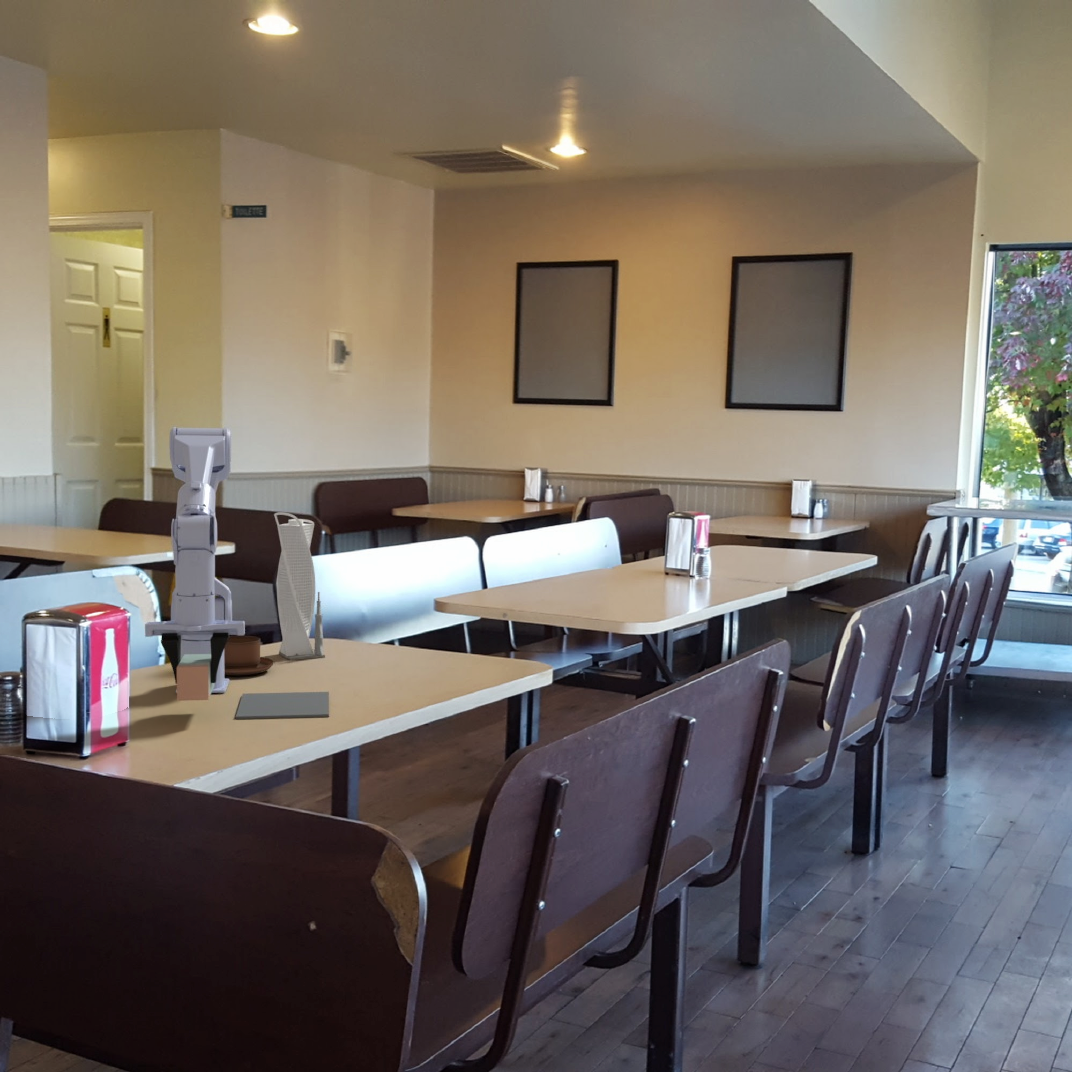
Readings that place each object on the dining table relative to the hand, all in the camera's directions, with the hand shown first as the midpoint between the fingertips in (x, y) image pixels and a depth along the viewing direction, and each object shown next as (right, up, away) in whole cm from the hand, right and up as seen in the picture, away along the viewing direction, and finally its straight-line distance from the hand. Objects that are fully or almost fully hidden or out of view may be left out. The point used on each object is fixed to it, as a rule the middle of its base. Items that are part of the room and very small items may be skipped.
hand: (196, 682), depth 187 cm
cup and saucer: (-2, -3, +35) cm, 35 cm away
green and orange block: (0, -2, 0) cm, 2 cm away
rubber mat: (+12, -5, +8) cm, 15 cm away
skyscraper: (+6, -1, +51) cm, 51 cm away
